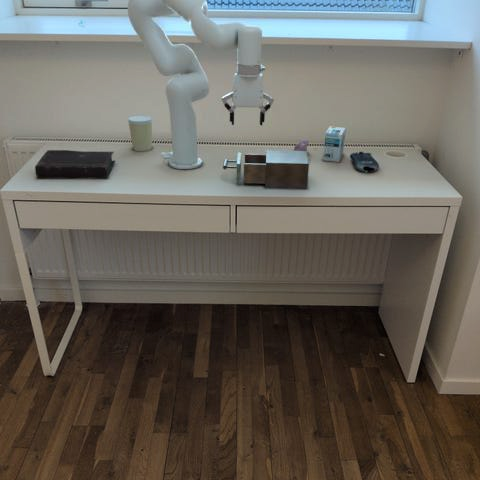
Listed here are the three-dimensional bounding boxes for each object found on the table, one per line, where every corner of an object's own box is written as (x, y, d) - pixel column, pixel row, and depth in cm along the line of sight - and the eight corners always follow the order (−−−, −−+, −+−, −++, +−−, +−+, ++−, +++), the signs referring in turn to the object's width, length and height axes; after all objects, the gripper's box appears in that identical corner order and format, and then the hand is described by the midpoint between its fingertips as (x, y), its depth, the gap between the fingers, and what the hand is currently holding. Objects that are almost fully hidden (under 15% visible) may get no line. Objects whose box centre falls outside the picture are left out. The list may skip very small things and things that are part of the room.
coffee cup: (158, 146, 225) (155, 117, 218) (146, 153, 218) (143, 122, 211) (139, 143, 228) (136, 114, 221) (126, 149, 221) (123, 119, 214)
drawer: (222, 184, 189) (222, 163, 185) (224, 171, 199) (224, 152, 195) (275, 185, 189) (276, 164, 184) (274, 173, 199) (275, 153, 195)
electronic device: (346, 164, 214) (357, 172, 201) (349, 149, 212) (360, 156, 199) (368, 166, 216) (380, 175, 202) (372, 152, 213) (384, 159, 200)
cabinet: (265, 188, 189) (266, 162, 184) (265, 174, 200) (266, 150, 195) (306, 189, 188) (309, 163, 183) (304, 175, 200) (306, 151, 194)
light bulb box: (339, 162, 212) (342, 134, 205) (322, 160, 213) (325, 133, 207) (343, 154, 220) (346, 127, 214) (326, 152, 222) (329, 125, 215)
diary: (107, 179, 194) (105, 166, 191) (37, 179, 193) (34, 166, 190) (115, 162, 209) (114, 149, 206) (50, 162, 208) (48, 149, 205)
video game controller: (300, 162, 216) (309, 147, 212) (290, 156, 216) (299, 141, 212) (302, 154, 224) (311, 139, 220) (293, 148, 224) (302, 133, 219)
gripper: (274, 67, 177) (271, 121, 187) (221, 66, 176) (221, 120, 186) (276, 72, 171) (273, 127, 181) (222, 71, 170) (221, 127, 180)
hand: (246, 124), depth 183 cm, fingers open, 9 cm apart
